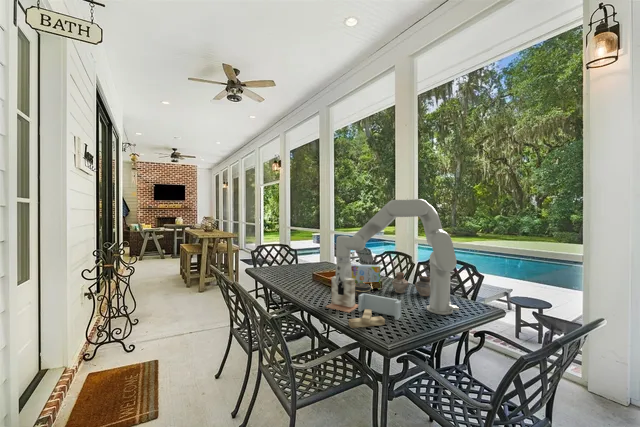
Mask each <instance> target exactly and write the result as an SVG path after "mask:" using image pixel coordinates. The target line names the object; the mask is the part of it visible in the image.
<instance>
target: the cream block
mask: <svg viewBox="0 0 640 427" xmlns="http://www.w3.org/2000/svg"><path fill="white" fill-rule="evenodd" d="M340 281H341V280H340ZM340 283H341V282H340ZM343 287H344V295H339V294H338V287H337V284H336V275H334V276H332V277H331V302H330V304H331V303H333V304H337V305H342V306H347V307H353V306H355V304H356V299H355V279H352V278H349V279H347V280H346V282H344V283H343Z"/></svg>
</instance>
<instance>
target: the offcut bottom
mask: <svg viewBox="0 0 640 427" xmlns="http://www.w3.org/2000/svg"><path fill="white" fill-rule="evenodd" d="M384 325H386V319H385V318H384V317H383V316H381V315H379V316H371V320H370V324H369V325H368V324H362V317H358V318H357V317H356V318H348V326H349V327H350V328H351V329H356V328H365V327H366V328H367V327H375V326H384Z"/></svg>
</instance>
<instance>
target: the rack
mask: <svg viewBox="0 0 640 427" xmlns="http://www.w3.org/2000/svg"><path fill="white" fill-rule="evenodd" d="M357 301H358V308H357V309H358V310H357V312H360V313H362V311H363V312H364V310H365V309H372V313H378V314H383V315H388V316H391V317H392V316H393V317H394V320H395V321H399V320H400V318H401V317H402V300H401V299H397V298H391V297H387V296H381V295H374V294H371V293H370V294H365V293H362V294H361V295H359V296H358V300H357Z"/></svg>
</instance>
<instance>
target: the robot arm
mask: <svg viewBox="0 0 640 427" xmlns="http://www.w3.org/2000/svg"><path fill="white" fill-rule="evenodd" d="M412 217H415V218H416V217H419V219H420V221H421V223H422V226H423V229H424V234H425V239H426V242H427V244H428V245H429V246H430V247H431V248H432V252H431V253H430V256H429V267H430V274H429V275H430V276H429V277H430V295H429V304H428V305H427V306H426V310H427V311H428V312H430V313H431V314H435V315H443V316H446V315H452V314H453V313H454V311H455V312H460V306H459V307H458V306H457V305H453V304H452V302H451V272H453V271H454V269H456V267H457V261H458V260H457V257H456V251H455V247H454V244H453V243H454V242H453V240H452V237H451V236H450V234H449V233H448V232H446V231H445V230H444V229H443V226H442V223H441V219H440V216H439V214H438V211H436V209H435V208H434V206H432V205H431V204H430V203H429V202H427V200H425V199H423V198H414V199H392V200H389V201H388V202H387V203H386V204H385V205H384V206H383V207H381V208H380V210H378V211H377V212H376V213H375V214H374V215H373V216H372V217H371V218H370V219H369V220H368V222H366V223H365V224H364V225H363V226H362V227H361V228H360V229H358V231H357V232H356V233H355V234H354V235H353V236H349V235H338V236H337V237H336V243H335V244H336V245H335V246H336V248H335V249H336V252H335V253H336V255H335V256H336V257H335V258H336V265H335V276H336V284H337V287H338V294H339V295H344V287H343V283H344V282H346V280H347V279H349V278H352V269H351V265H352V262H351V260H352V258H351V257H352V256H351V253H352V251H355V252H360V251H363V250H364V249H365V247H366V244H367V242H368V241H369V240H371V239H372V237H374V236H375V235H376V234H379V233H381V232H383V231H384V230H385V229H386V228H387V227H388V226H389V225H390V224H392V222H393V221H394V220H395V219H396V218H412ZM340 280H341V281H340ZM340 282H341V283H340Z"/></svg>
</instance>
